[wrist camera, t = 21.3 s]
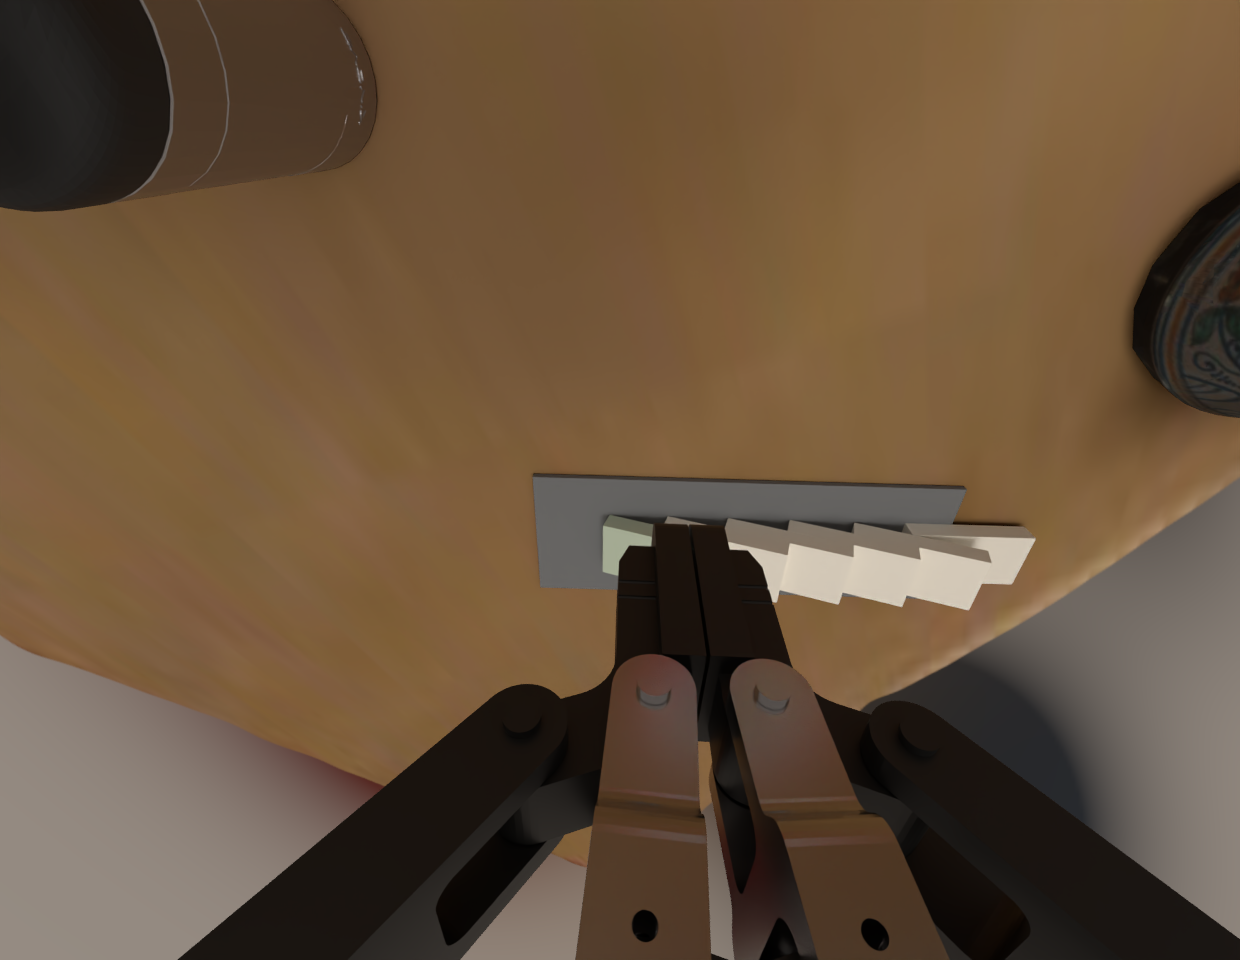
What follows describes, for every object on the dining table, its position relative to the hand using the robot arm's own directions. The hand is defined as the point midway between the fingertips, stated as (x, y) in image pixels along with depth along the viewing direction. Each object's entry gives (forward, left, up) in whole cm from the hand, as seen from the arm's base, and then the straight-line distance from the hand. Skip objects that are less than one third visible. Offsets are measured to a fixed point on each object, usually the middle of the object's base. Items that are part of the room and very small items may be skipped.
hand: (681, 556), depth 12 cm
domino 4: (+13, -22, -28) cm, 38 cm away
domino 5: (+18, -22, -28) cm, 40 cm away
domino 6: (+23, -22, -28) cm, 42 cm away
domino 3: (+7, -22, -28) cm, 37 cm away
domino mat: (+9, -22, -29) cm, 38 cm away
